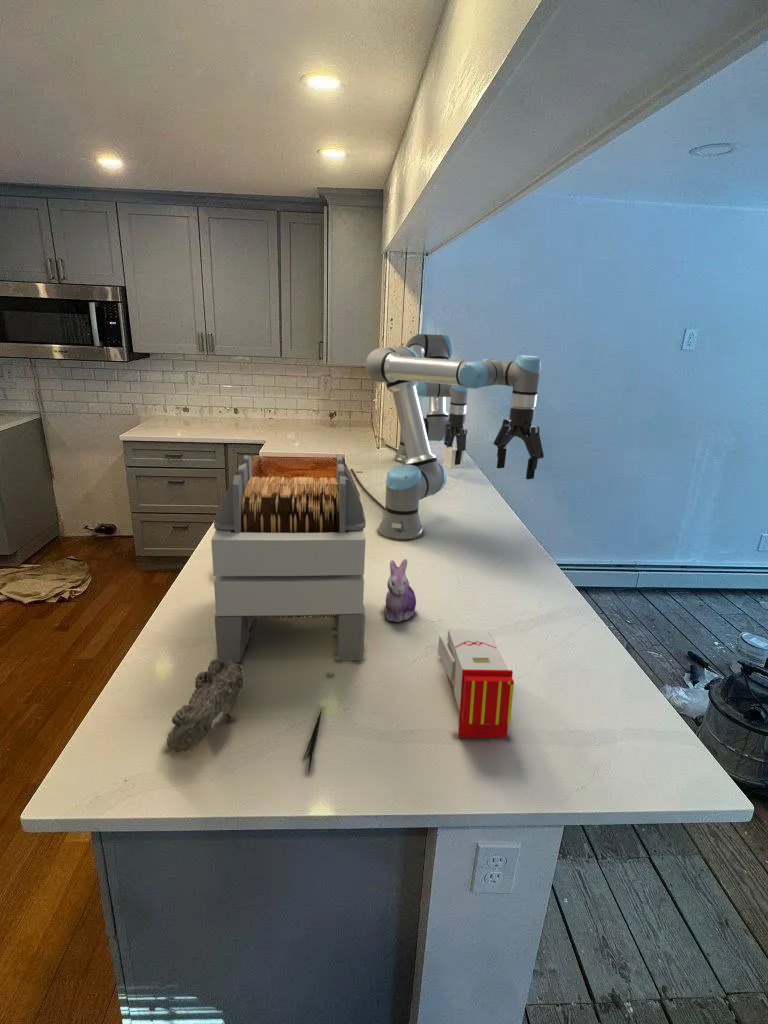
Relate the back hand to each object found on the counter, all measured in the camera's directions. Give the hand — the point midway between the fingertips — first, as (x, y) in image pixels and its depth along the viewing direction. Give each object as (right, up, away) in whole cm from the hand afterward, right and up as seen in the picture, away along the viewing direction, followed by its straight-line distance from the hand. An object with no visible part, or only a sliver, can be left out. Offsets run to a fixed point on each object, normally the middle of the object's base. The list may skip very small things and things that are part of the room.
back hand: (453, 462), depth 267 cm
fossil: (-65, -62, -159) cm, 183 cm away
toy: (-15, -61, -149) cm, 161 cm away
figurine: (-29, -50, -120) cm, 133 cm away
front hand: (+10, -11, -84) cm, 85 cm away
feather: (-45, -63, -159) cm, 177 cm away
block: (0, -2, +1) cm, 2 cm away
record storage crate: (-55, -51, -126) cm, 147 cm away
